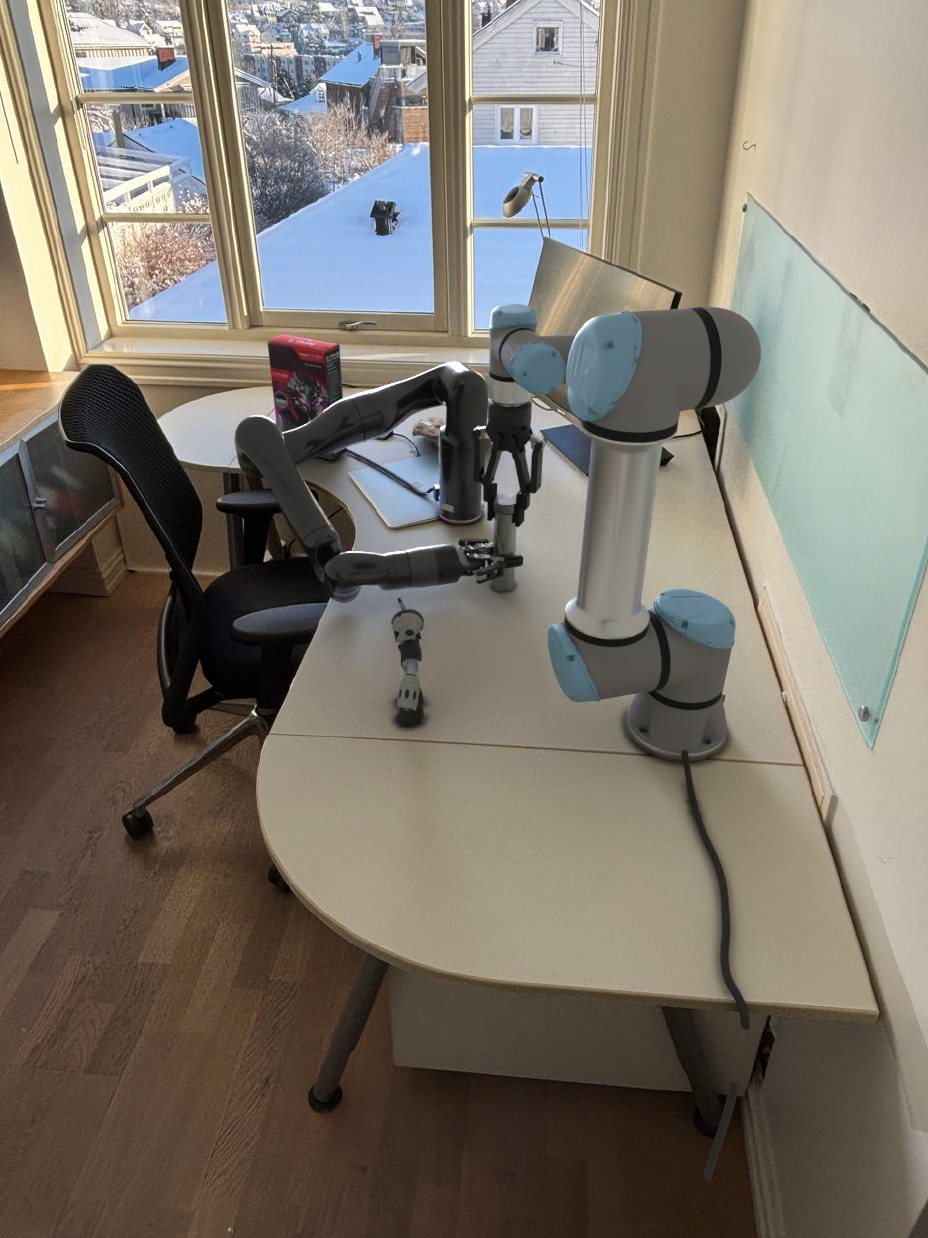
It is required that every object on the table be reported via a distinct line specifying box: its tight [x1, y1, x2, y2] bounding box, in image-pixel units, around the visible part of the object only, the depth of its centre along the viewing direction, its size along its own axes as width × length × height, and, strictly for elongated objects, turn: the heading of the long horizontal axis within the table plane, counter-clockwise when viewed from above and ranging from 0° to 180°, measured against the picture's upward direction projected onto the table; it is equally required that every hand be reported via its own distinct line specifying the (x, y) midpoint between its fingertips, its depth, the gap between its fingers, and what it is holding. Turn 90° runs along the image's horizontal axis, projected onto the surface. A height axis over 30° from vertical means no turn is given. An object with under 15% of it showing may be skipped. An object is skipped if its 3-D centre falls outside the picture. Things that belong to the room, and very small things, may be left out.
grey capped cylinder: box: [491, 511, 518, 592], centre depth 173 cm, size 4×4×18 cm
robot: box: [390, 597, 425, 728], centre depth 141 cm, size 20×5×20 cm, turn 3°
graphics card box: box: [267, 333, 348, 461], centre depth 223 cm, size 17×7×27 cm, turn 62°
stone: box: [411, 416, 492, 453], centre depth 231 cm, size 21×15×6 cm
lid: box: [493, 492, 516, 514], centre depth 168 cm, size 5×5×2 cm
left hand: (517, 553), depth 175 cm, fingers closed on grey capped cylinder, 4 cm apart
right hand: (505, 520), depth 170 cm, fingers closed on lid, 5 cm apart
